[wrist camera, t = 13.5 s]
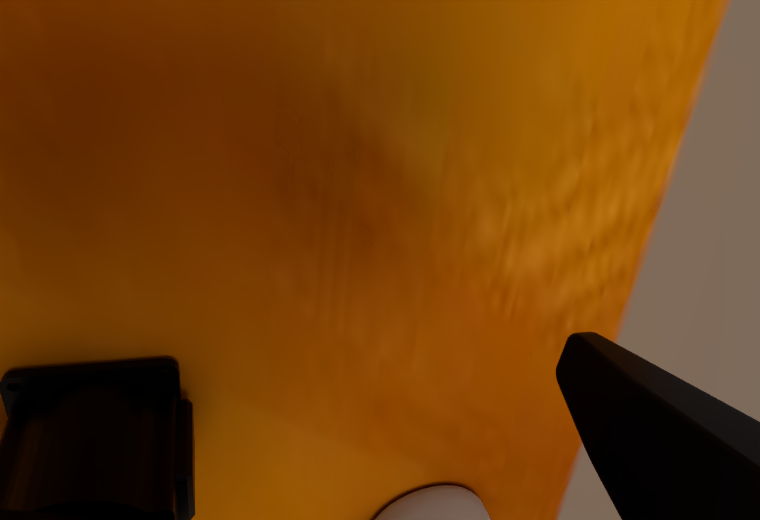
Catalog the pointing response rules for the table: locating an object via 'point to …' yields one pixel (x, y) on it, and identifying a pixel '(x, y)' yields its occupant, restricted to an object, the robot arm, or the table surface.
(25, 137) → the table surface
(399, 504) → the milk bottle
